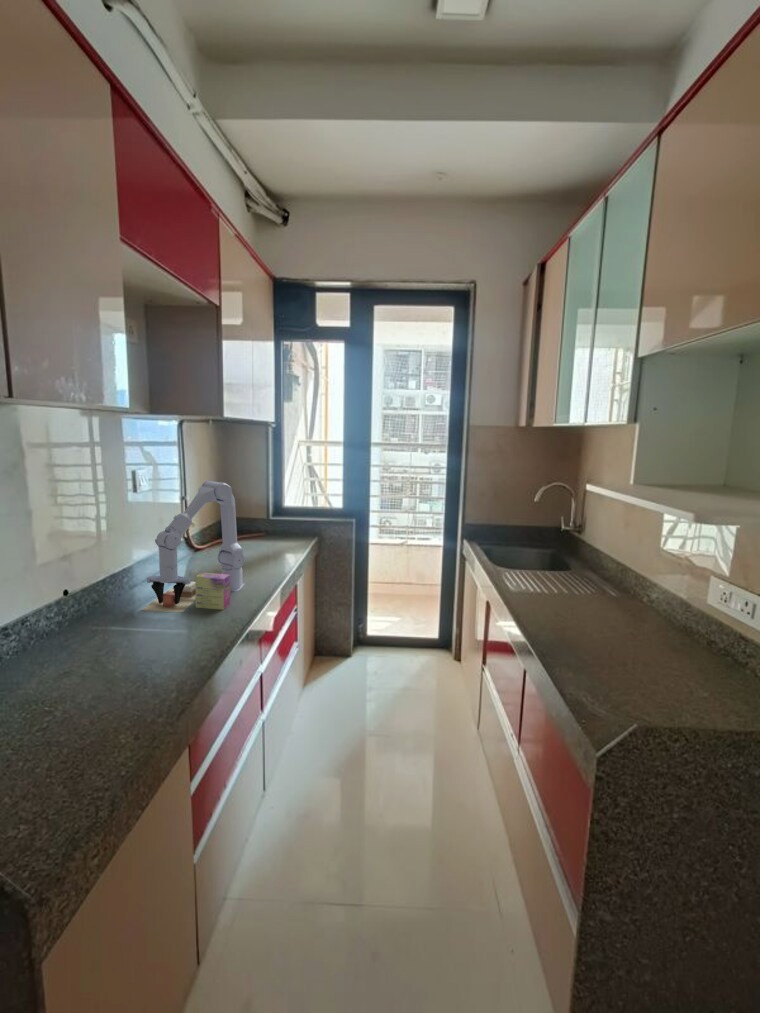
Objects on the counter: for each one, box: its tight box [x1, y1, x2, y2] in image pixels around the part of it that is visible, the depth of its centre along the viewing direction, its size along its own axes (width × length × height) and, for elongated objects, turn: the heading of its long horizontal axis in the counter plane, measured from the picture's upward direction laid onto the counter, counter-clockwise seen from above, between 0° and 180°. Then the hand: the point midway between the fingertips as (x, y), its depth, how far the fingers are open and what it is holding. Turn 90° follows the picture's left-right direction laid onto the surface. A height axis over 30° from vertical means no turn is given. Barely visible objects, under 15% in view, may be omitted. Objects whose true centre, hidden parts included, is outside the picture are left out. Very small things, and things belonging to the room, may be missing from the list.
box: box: [195, 571, 231, 611], centre depth 166 cm, size 10×6×12 cm, turn 84°
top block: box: [183, 581, 196, 592], centre depth 177 cm, size 6×6×2 cm
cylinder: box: [163, 592, 176, 607], centre depth 165 cm, size 4×4×4 cm
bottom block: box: [173, 588, 196, 597], centre depth 177 cm, size 7×7×2 cm
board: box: [140, 587, 196, 613], centre depth 172 cm, size 24×14×1 cm, turn 0°
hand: (169, 602), depth 166 cm, fingers open, 5 cm apart
